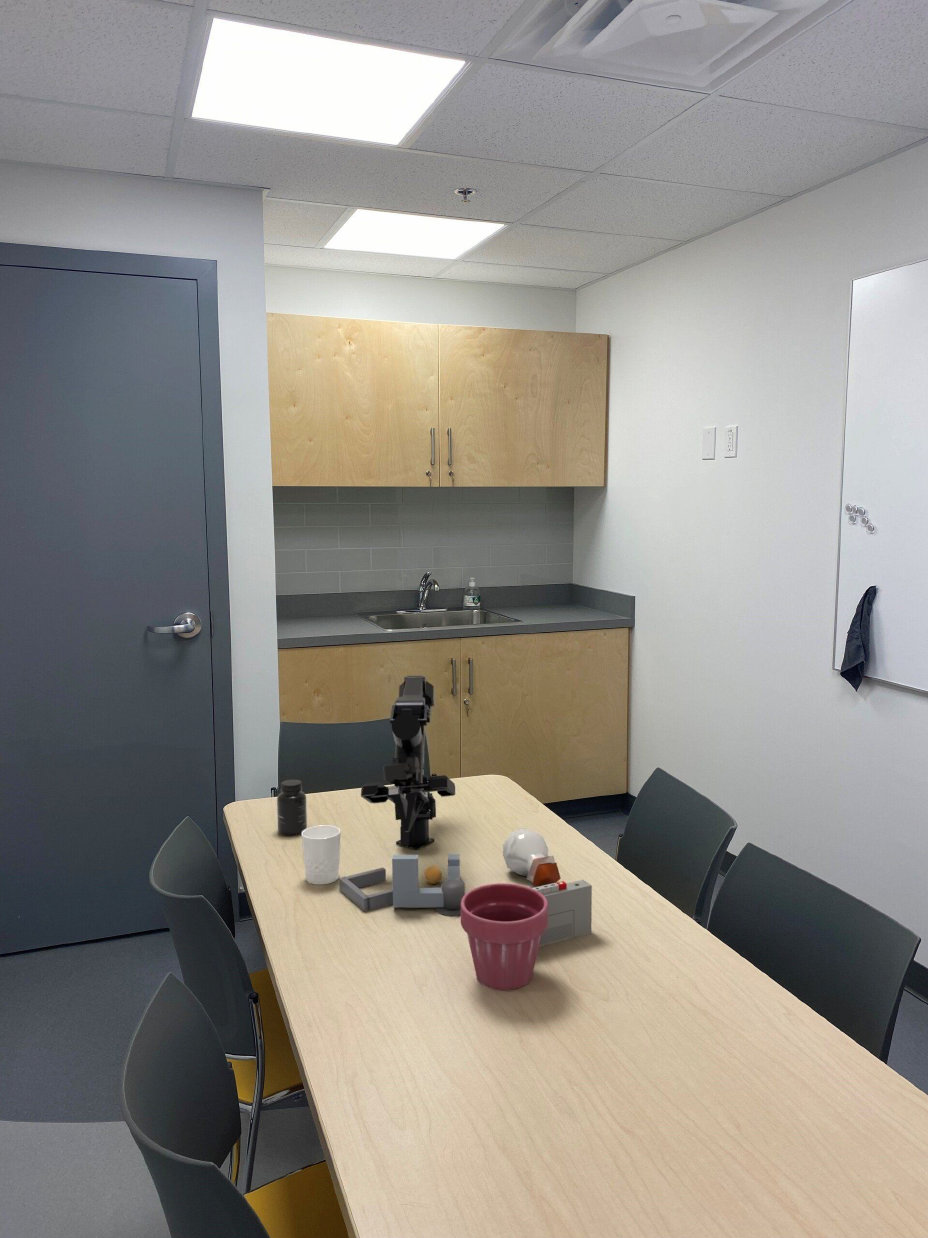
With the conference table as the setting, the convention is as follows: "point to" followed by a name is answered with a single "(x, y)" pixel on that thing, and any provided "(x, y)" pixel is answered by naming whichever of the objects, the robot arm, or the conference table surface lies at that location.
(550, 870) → the potion bottle
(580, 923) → the cassette player
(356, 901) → the pocket
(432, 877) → the ball
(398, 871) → the lever
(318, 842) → the white cup
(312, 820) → the conference table surface
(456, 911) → the pivot plate
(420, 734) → the robot arm
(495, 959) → the plant pot
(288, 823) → the supplement bottle
